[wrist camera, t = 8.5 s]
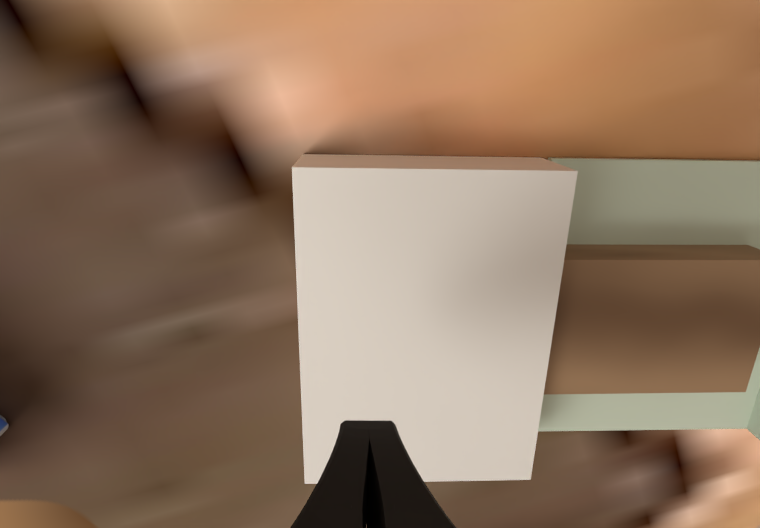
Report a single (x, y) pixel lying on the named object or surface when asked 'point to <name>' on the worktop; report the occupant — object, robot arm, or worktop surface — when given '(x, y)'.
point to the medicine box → (3, 425)
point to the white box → (429, 304)
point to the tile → (655, 319)
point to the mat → (661, 227)
